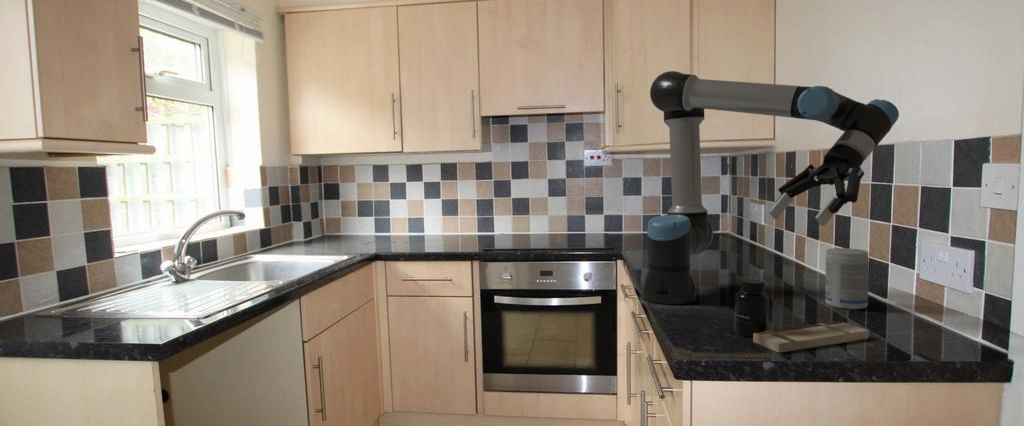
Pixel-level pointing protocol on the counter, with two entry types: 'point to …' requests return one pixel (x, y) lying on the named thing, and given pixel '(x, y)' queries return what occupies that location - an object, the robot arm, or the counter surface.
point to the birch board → (810, 336)
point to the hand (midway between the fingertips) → (794, 218)
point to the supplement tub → (847, 278)
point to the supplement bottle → (751, 308)
